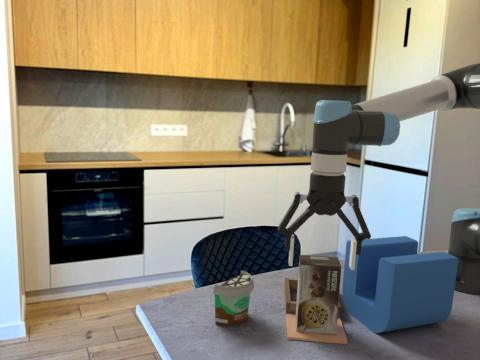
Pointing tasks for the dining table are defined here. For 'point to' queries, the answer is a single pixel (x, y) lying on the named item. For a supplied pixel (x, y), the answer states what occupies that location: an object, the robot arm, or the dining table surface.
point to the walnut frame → (289, 305)
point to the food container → (233, 300)
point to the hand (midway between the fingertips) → (320, 266)
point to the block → (398, 284)
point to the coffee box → (318, 294)
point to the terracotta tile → (315, 337)
